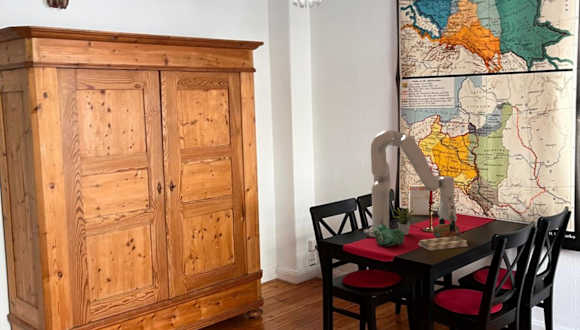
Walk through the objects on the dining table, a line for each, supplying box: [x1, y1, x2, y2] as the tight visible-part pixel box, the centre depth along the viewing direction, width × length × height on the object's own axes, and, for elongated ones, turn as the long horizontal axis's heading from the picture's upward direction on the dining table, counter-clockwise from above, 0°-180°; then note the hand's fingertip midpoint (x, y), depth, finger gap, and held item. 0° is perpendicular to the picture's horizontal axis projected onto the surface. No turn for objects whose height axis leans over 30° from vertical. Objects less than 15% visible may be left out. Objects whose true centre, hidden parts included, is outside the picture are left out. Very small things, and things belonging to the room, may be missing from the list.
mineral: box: [373, 224, 405, 247], centre depth 319 cm, size 18×16×10 cm
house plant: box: [394, 205, 416, 236], centre depth 340 cm, size 14×14×16 cm
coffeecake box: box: [408, 183, 434, 216], centre depth 391 cm, size 15×7×20 cm, turn 84°
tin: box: [432, 223, 460, 239], centre depth 329 cm, size 15×3×8 cm, turn 101°
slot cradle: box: [417, 236, 469, 251], centre depth 316 cm, size 23×12×3 cm, turn 109°
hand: (447, 229), depth 329 cm, fingers open, 9 cm apart
